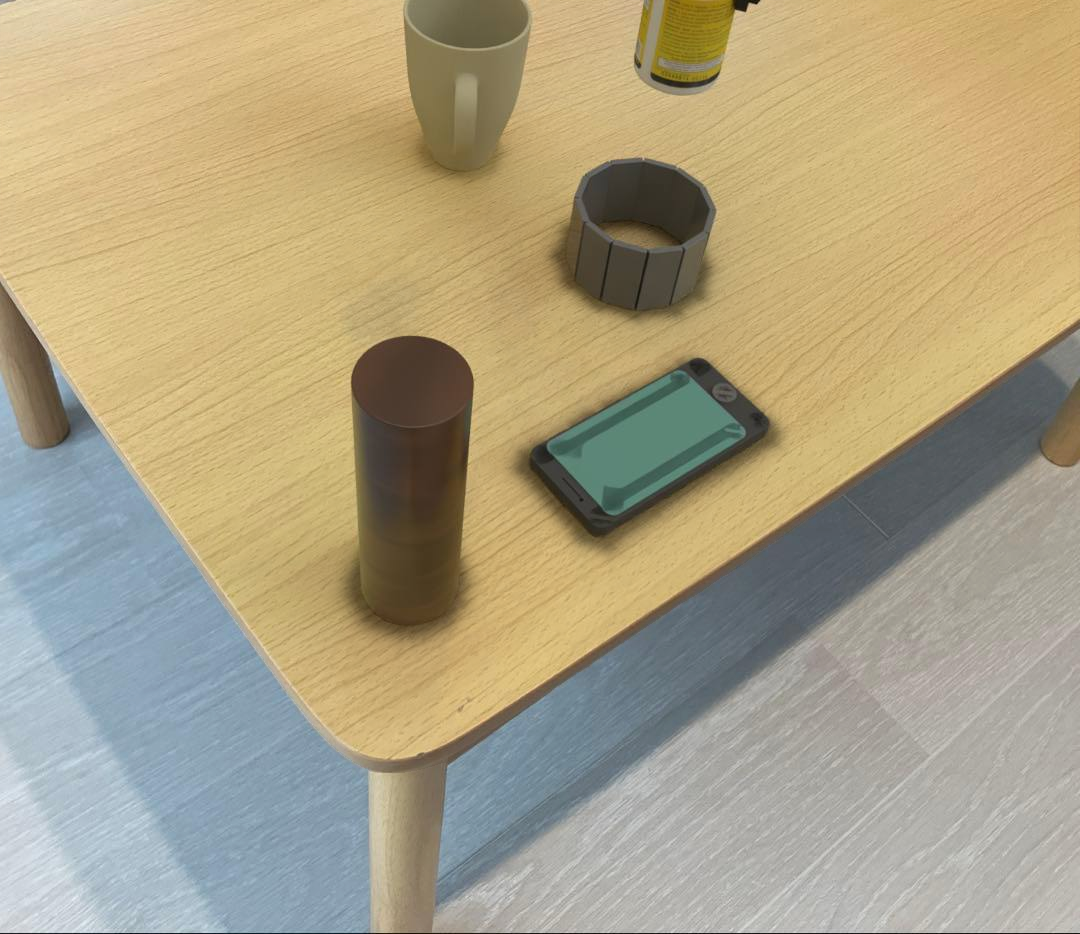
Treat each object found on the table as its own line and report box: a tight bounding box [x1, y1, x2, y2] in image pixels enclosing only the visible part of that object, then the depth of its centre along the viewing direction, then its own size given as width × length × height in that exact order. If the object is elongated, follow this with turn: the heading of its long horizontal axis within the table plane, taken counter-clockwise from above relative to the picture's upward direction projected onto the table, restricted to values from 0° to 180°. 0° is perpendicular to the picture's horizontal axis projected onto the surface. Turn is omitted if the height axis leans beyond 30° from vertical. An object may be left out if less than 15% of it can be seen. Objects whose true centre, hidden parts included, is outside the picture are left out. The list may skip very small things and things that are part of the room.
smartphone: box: [528, 357, 771, 537], centre depth 75 cm, size 7×1×15 cm
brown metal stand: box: [350, 335, 475, 626], centre depth 61 cm, size 6×6×18 cm
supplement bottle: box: [633, 0, 737, 97], centre depth 69 cm, size 5×5×10 cm
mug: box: [402, 0, 533, 172], centre depth 86 cm, size 11×10×12 cm
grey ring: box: [565, 156, 717, 312], centre depth 84 cm, size 10×10×6 cm
